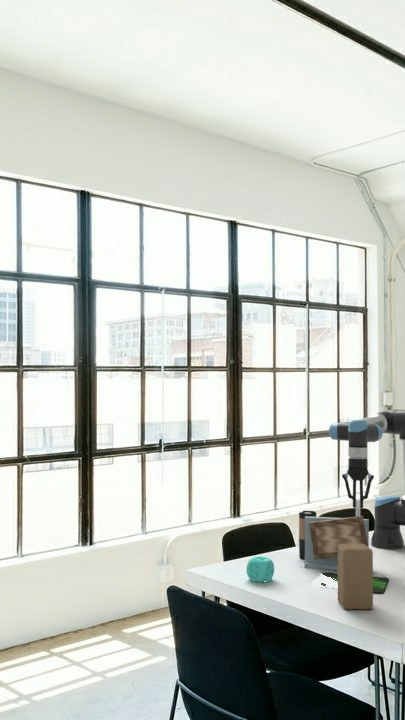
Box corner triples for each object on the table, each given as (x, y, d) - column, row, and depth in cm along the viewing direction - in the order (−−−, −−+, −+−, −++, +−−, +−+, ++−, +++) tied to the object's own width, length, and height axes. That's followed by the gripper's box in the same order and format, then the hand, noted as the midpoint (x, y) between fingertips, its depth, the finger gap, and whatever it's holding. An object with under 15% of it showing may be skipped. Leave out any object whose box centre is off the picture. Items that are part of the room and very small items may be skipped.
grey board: (368, 566, 284) (368, 517, 285) (369, 571, 276) (368, 521, 277) (305, 562, 289) (305, 515, 290) (304, 567, 281) (304, 518, 282)
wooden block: (365, 601, 236) (365, 543, 237) (373, 610, 226) (373, 549, 227) (337, 601, 236) (336, 543, 237) (343, 610, 226) (343, 549, 227)
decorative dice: (274, 579, 263) (274, 558, 264) (264, 583, 257) (264, 562, 257) (256, 575, 268) (256, 555, 268) (246, 580, 261) (246, 559, 261)
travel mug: (317, 560, 293) (317, 513, 294) (299, 560, 293) (300, 513, 294) (315, 556, 300) (315, 510, 301) (297, 556, 301) (297, 510, 301)
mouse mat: (308, 587, 254) (308, 584, 254) (319, 572, 274) (319, 570, 274) (384, 595, 244) (383, 592, 244) (389, 580, 265) (389, 577, 265)
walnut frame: (369, 553, 276) (362, 515, 277) (369, 554, 274) (363, 516, 275) (314, 558, 280) (309, 522, 281) (314, 559, 278) (308, 523, 279)
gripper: (341, 458, 275) (341, 517, 274) (375, 459, 273) (375, 518, 271) (341, 456, 282) (341, 513, 281) (374, 457, 280) (374, 515, 279)
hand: (358, 516), depth 276 cm, fingers closed
